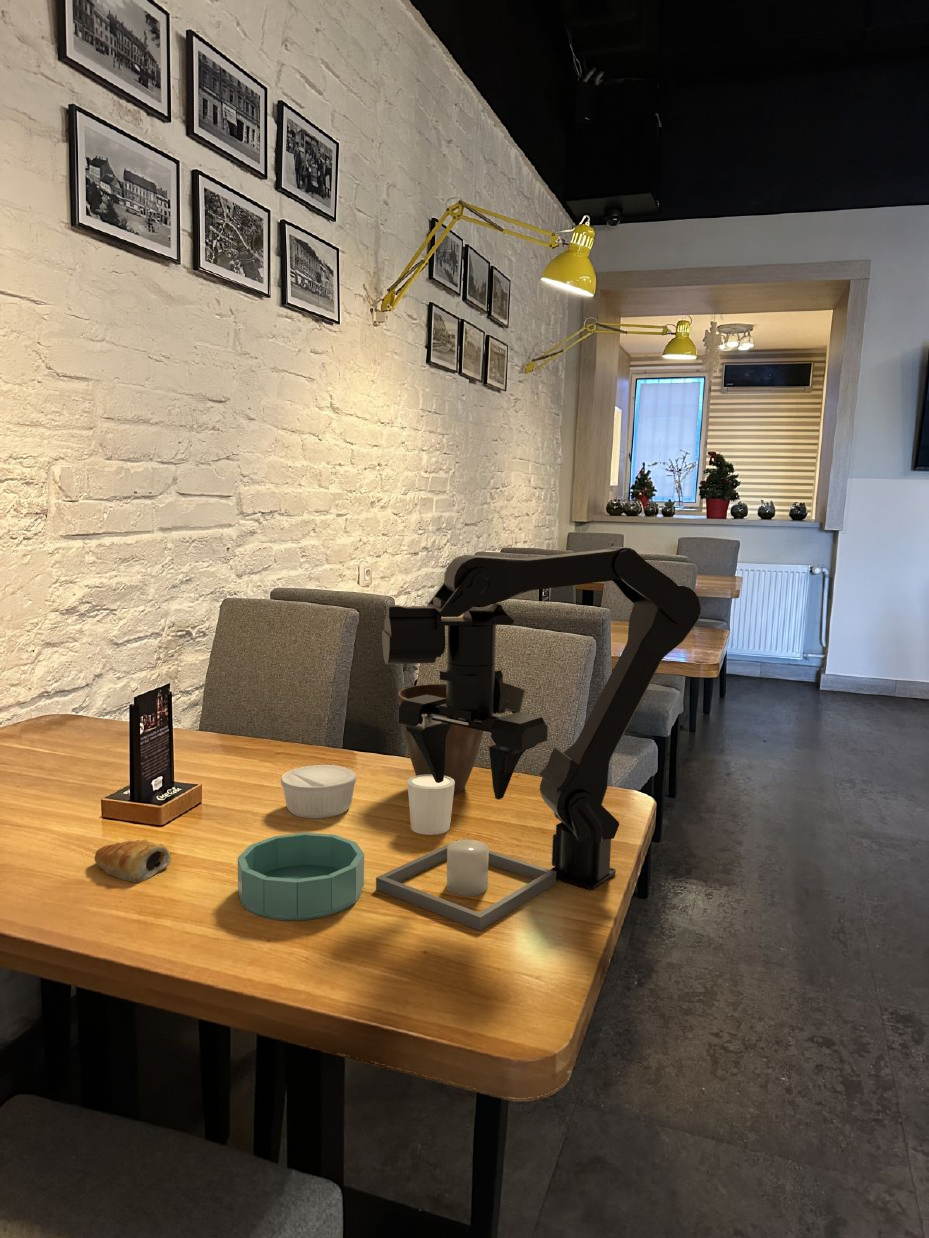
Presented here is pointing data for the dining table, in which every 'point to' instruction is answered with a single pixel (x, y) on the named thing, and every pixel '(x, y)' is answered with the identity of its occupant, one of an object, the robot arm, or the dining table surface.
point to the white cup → (430, 804)
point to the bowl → (300, 876)
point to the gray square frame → (456, 912)
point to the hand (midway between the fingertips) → (468, 790)
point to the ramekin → (318, 790)
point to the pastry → (133, 859)
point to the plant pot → (458, 741)
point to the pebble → (467, 867)
